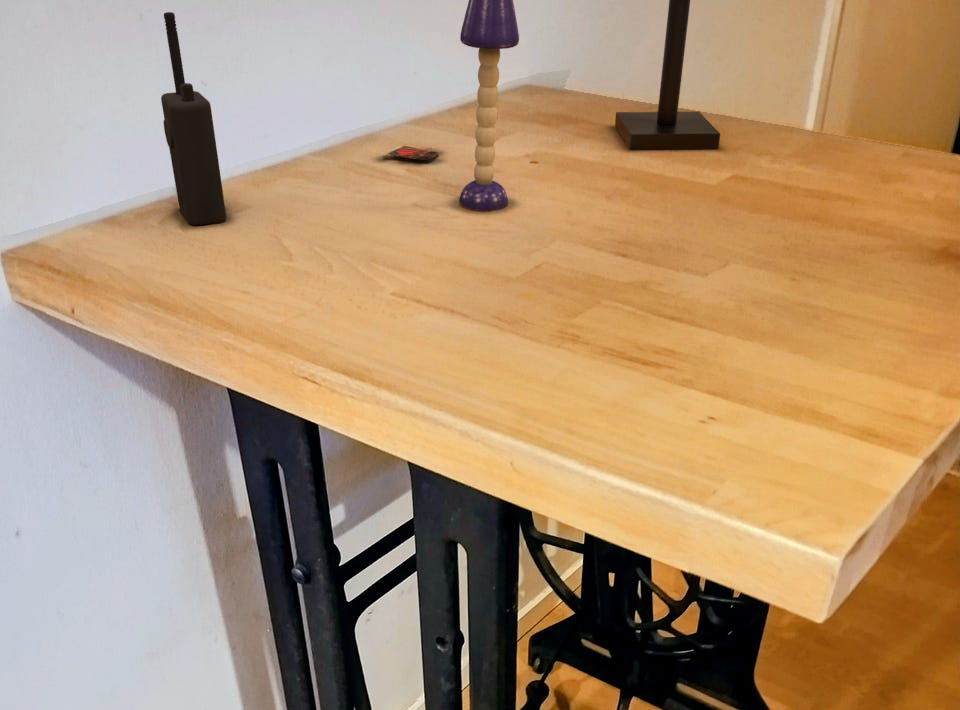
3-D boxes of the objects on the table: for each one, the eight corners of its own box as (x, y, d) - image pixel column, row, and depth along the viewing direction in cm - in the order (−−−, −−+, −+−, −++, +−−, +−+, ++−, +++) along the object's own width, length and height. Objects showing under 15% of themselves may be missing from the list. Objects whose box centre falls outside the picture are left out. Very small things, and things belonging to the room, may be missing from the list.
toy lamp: (516, 197, 90) (522, -19, 80) (512, 214, 86) (518, -10, 76) (462, 195, 90) (461, -20, 80) (456, 212, 86) (454, -12, 76)
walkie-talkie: (228, 221, 84) (200, 18, 75) (187, 227, 83) (153, 21, 74) (214, 204, 87) (185, 8, 78) (174, 210, 86) (140, 11, 77)
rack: (697, 126, 110) (715, -17, 102) (718, 149, 103) (739, -3, 95) (614, 126, 109) (626, -17, 101) (629, 150, 102) (643, -3, 94)
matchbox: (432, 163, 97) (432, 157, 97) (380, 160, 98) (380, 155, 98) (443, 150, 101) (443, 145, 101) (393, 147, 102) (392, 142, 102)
